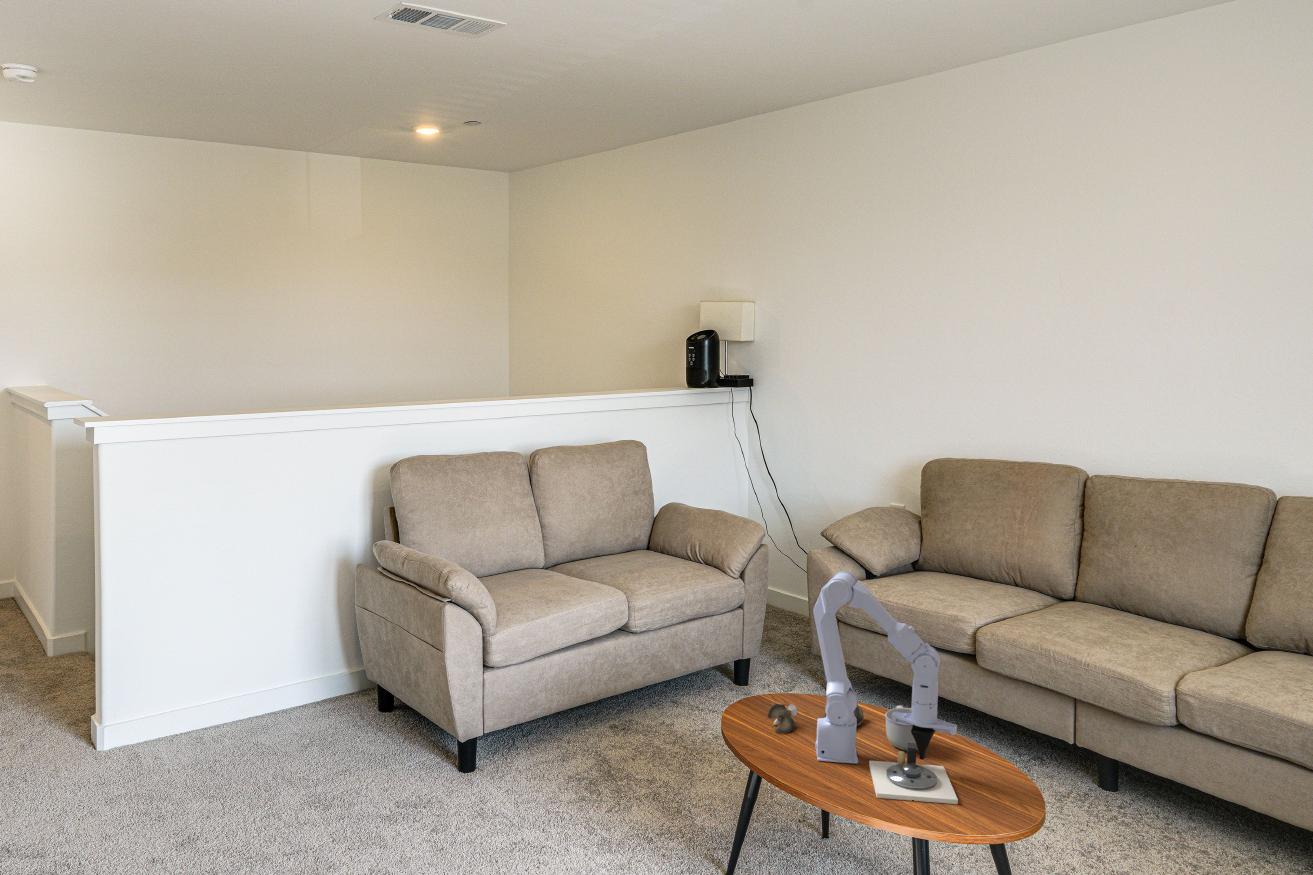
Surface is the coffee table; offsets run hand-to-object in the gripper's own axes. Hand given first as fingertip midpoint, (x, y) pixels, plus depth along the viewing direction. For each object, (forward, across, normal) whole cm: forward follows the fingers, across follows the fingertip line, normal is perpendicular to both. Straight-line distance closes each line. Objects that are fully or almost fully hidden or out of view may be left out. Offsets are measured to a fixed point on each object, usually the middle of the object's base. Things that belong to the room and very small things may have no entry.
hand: (922, 757), depth 213 cm
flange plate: (+2, +1, +6) cm, 6 cm away
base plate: (+3, 0, +8) cm, 9 cm away
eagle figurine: (+3, +38, -6) cm, 39 cm away
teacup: (+3, +8, -14) cm, 16 cm away
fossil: (+3, +26, -18) cm, 31 cm away
